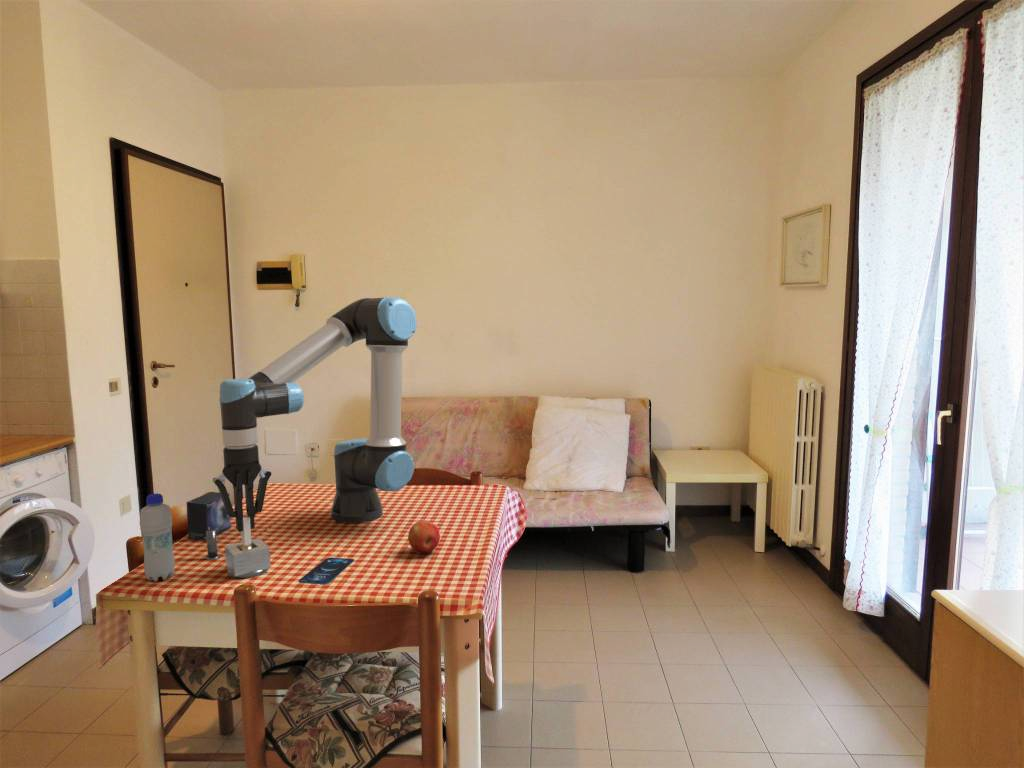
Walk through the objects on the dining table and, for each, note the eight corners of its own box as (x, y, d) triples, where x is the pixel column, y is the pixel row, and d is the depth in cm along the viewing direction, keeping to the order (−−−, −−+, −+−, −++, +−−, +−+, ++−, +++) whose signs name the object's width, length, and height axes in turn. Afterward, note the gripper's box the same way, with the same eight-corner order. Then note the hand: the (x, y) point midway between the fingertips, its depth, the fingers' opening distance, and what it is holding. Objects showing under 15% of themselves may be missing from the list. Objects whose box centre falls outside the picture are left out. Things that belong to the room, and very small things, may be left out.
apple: (439, 545, 171) (438, 515, 170) (441, 557, 162) (440, 526, 162) (408, 547, 169) (407, 517, 168) (408, 559, 161) (408, 528, 160)
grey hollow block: (260, 557, 161) (259, 538, 160) (270, 567, 154) (269, 547, 154) (226, 565, 156) (224, 545, 155) (235, 576, 150) (233, 555, 149)
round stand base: (273, 562, 160) (272, 539, 159) (261, 578, 151) (259, 553, 150) (236, 563, 160) (234, 540, 159) (221, 579, 151) (219, 554, 150)
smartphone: (356, 558, 162) (327, 583, 147) (356, 561, 162) (328, 586, 147) (327, 557, 163) (296, 581, 149) (327, 559, 163) (296, 583, 149)
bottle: (152, 572, 155) (145, 490, 153) (181, 570, 156) (175, 489, 153) (138, 584, 149) (131, 498, 146) (169, 582, 149) (162, 497, 147)
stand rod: (222, 554, 166) (220, 528, 165) (216, 560, 162) (215, 532, 161) (208, 555, 165) (206, 528, 165) (203, 560, 162) (201, 533, 161)
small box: (208, 541, 176) (205, 503, 174) (187, 539, 177) (184, 502, 176) (232, 528, 186) (230, 492, 185) (212, 526, 187) (210, 491, 186)
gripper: (264, 439, 159) (269, 532, 161) (206, 446, 151) (213, 545, 154) (274, 444, 153) (279, 541, 156) (214, 452, 145) (221, 554, 148)
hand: (246, 543), depth 155 cm, fingers closed
